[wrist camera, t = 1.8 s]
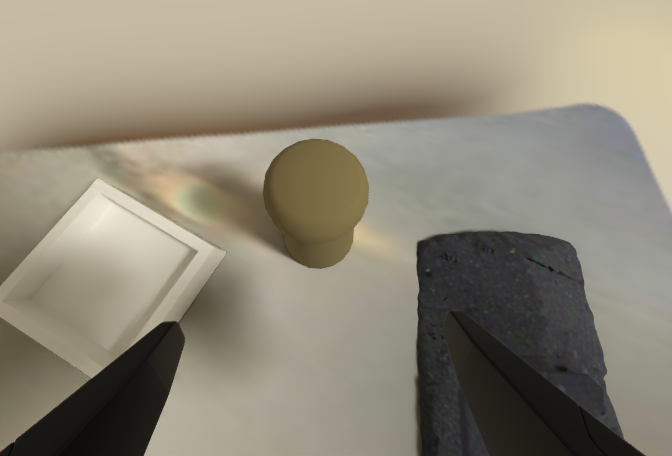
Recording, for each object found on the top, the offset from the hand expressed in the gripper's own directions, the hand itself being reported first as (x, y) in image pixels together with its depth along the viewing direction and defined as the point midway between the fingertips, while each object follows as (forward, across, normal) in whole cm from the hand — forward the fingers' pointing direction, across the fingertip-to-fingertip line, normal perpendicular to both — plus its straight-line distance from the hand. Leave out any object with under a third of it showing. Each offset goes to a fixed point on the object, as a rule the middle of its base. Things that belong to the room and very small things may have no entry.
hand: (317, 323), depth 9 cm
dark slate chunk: (+5, -15, +13) cm, 20 cm away
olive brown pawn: (+13, 0, +5) cm, 14 cm away
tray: (+10, +15, +7) cm, 19 cm away
